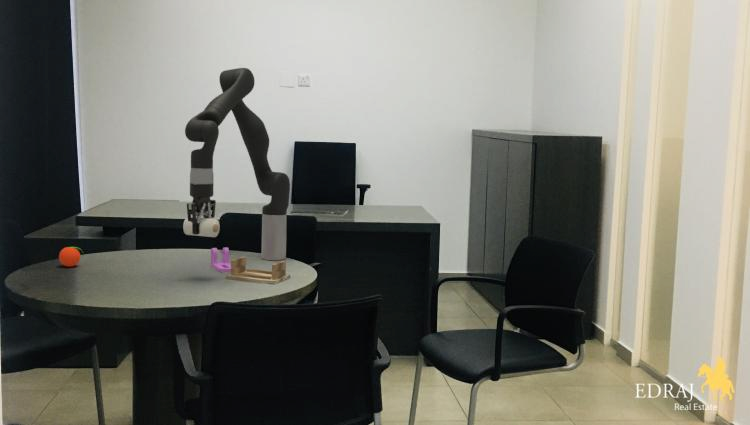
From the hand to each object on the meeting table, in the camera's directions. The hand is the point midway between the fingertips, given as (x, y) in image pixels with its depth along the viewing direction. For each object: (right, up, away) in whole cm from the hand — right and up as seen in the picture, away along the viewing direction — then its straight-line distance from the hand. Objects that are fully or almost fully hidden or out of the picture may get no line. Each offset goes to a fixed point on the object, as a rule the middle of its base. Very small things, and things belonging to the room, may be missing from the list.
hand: (201, 232), depth 250 cm
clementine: (-48, -12, +14) cm, 52 cm away
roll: (0, -1, 0) cm, 1 cm away
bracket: (+3, -14, +20) cm, 24 cm away
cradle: (+18, -15, +6) cm, 24 cm away
